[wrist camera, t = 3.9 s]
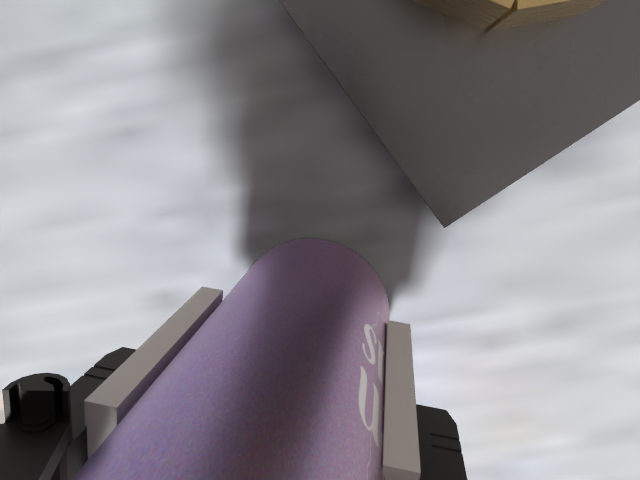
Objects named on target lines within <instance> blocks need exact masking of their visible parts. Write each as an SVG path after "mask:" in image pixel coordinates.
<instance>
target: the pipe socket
mask: <svg viewBox="0 0 640 480" xmlns="http://www.w3.org/2000/svg"><path fill="white" fill-rule="evenodd" d="M279 1H280V2H281V3H282V5H283V6H284V8H285V9H286V10H287V12H288V13H289V15H290V16H291V17H292V19H293V20H294V21H295V23H296V24H297V26H298V27H299V28H300V30H301V31H302V32H303V34H304V35H305V37H306V38H307V39H308V41H309V42H310V43H311V45H312V46H313V48H314V49H315V50H316V52H317V53H318V55H319V56H320V57H321V59H322V60H323V61H324V63H325V64H326V66H327V67H328V68H329V70H330V71H331V72H332V74H333V75H334V77H335V78H336V79H337V81H338V82H339V83H340V85H341V86H342V88H343V89H344V90H345V92H346V93H347V94H348V96H349V97H350V99H351V100H352V101H353V103H354V104H355V106H356V107H357V108H358V110H359V111H360V112H361V114H362V115H363V117H364V118H365V119H366V121H367V122H368V123H369V125H370V126H371V128H372V129H373V130H374V132H375V133H376V134H377V136H378V137H379V139H380V140H381V141H382V143H383V144H384V145H385V147H386V148H387V150H388V151H389V152H390V154H391V155H392V157H393V158H394V159H395V161H396V162H397V163H398V165H399V166H400V168H401V169H402V170H403V172H404V173H405V174H406V176H407V177H408V179H409V180H410V181H411V183H412V184H413V185H414V187H415V188H416V190H417V191H418V192H419V194H420V195H421V197H422V198H423V199H424V201H425V202H426V203H427V205H428V206H429V208H430V209H431V210H432V212H433V213H434V214H435V216H436V217H437V219H438V220H439V221H440V223H441V224H442V225H443V227H444V228H445V227H447V226H448V225H450V224H451V223H453V222H454V221H456V220H457V219H459V218H460V217H462V216H463V215H465V214H466V213H468V212H469V211H471V210H472V209H474V208H476V207H477V206H479V205H480V204H482V203H483V202H485V201H486V200H488V199H489V198H491V197H492V196H494V195H495V194H497V193H498V192H500V191H502V190H503V189H505V188H506V187H508V186H509V185H511V184H512V183H514V182H515V181H517V180H518V179H520V178H521V177H523V176H524V175H526V174H527V173H529V172H531V171H532V170H534V169H535V168H537V167H538V166H540V165H541V164H543V163H544V162H546V161H547V160H549V159H550V158H552V157H553V156H555V155H556V154H558V153H560V152H561V151H563V150H564V149H566V148H567V147H569V146H570V145H572V144H573V143H575V142H576V141H578V140H579V139H581V138H582V137H584V136H585V135H587V134H589V133H590V132H592V131H593V130H595V129H596V128H598V127H599V126H601V125H602V124H604V123H605V122H607V121H608V120H610V119H611V118H613V117H615V116H616V115H618V114H619V113H621V112H622V111H624V110H625V109H627V108H628V107H630V106H631V105H633V104H634V103H636V102H637V101H639V100H640V0H279Z"/></svg>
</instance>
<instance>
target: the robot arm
mask: <svg viewBox="0 0 640 480" xmlns="http://www.w3.org/2000/svg"><path fill="white" fill-rule="evenodd" d="M222 298H223V290H218V289H212V288H207V287H201V288H200V289H199V290H198V291H197V292H196V293H195V294H194V295H193V296H192V297H191V298H190V299H189V300H188V301H187V302H186V303H185V304H184V305H183V306H182V307H181V308H180V309H179V310H178V311H177V312H176V313H174V314H173V315H172V316H171V317H170V318H169V319H168V320H167V321H166V322H165V323H164V324H163V325H162V326H161V327H160V328H159V329H158V330H157V331H156V332H155V333H154V334H153V335H152V336H151V337H150V338H149V339H148V340H146V341H145V342H144V343H143V344H142V345H141V346H140V347H139V348H138V349H137V350H135V349H130V348H125V347H122V348H120V349H118V350H115V351H113V352H111V353H109V354H107V355H105V356H104V357H103V358H102V359H101V360H100V361H98V362H97V363H96V364H95V365H94V367H92V368H90V369H89V370H88V371H87V372H86V373H85V374H84V376H81V377H80V378H79V379H78V380H77V381H76V382H74V383H73V384H72V385H71V386H70V383H69V382H68V380H67V378H65V377H63V376H61V375H59V374H52V373H40V374H33V375H29V376H26V377H22V378H20V379H18V380H16V381H14V382H12V383H10V384H9V385H8V386H7V387H5V388H4V389H3V390H2V391H3V401H4V412H5V423H4V424H0V480H71V479H72V478H73V477H74V476H75V474H76V473H77V472H78V471H79V470H80V469H81V467H82V466H83V465H84V464H85V463H86V462H87V460H88V459H89V458H90V457H91V456H92V454H93V453H94V452H95V451H96V450H97V449H98V447H99V446H100V445H101V444H102V443H103V441H104V440H105V439H106V438H107V437H108V436H109V434H110V433H111V432H112V431H113V430H114V428H115V427H116V426H117V425H118V424H119V423H120V421H121V420H122V419H123V418H124V417H125V416H126V414H127V413H128V412H129V411H130V410H131V408H132V407H133V406H134V405H135V404H136V403H137V401H138V400H139V399H140V398H141V397H142V395H143V394H144V393H145V392H146V391H147V390H148V388H149V387H150V386H151V385H152V384H153V382H154V381H155V380H156V379H157V378H158V377H159V375H160V374H161V373H162V372H163V371H164V369H165V368H166V367H167V366H168V365H169V364H170V362H171V361H172V360H173V359H174V358H175V357H176V355H177V354H178V353H179V352H180V351H181V349H182V348H183V347H184V346H185V345H186V344H187V342H188V341H189V340H190V339H191V338H192V336H193V335H194V334H195V333H196V332H197V331H198V329H199V328H200V327H201V326H202V325H203V323H204V322H205V321H206V320H207V319H208V318H209V316H210V315H211V314H212V313H213V312H214V311H215V309H216V308H217V307H218V306H219V305H220V303H221V302H222ZM382 470H383V473H384V476H385V480H467V476H466V471H465V466H464V461H463V456H462V454H461V445H460V442H459V435H458V430H457V425H456V423H455V422H454V420H453V419H452V417H451V416H450V415H449V413H448V412H447V411H446V410H442V409H437V408H432V407H427V406H422V405H417V404H416V399H415V385H414V372H413V358H412V344H411V330H410V324H405V323H400V322H394V321H389V320H387V328H386V361H385V395H384V428H383V462H382Z"/></svg>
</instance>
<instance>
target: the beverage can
mask: <svg viewBox="0 0 640 480" xmlns="http://www.w3.org/2000/svg"><path fill="white" fill-rule="evenodd" d="M387 320H389V303H388V298H387V294H386V291H385V288H384V286H383V284H382V282H381V280H380V278H379V276H378V275H377V273H376V272H375V271H374V269H373V268H372V267H371V266H370V265H369V264H368V263H367V262H366V261H365V260H364V259H363V258H362V257H361V256H359V255H358V254H357V253H355V252H354V251H352V250H350V249H348V248H346V247H344V246H342V245H340V244H337V243H334V242H331V241H327V240H321V239H298V240H293V241H289V242H286V243H283V244H280V245H278V246H276V247H274V248H272V249H271V250H269V251H267V252H266V253H265V254H263V255H262V256H261V257H260V258H259V259H258V260H257V261H256V262H255V263H254V265H253V266H252V267H251V268H250V269H249V270H248V272H247V273H246V274H245V275H244V276H243V277H242V279H241V280H240V281H239V282H238V283H237V285H236V286H235V287H234V288H233V289H232V290H231V292H230V293H229V294H228V295H227V296H226V298H225V299H224V300H223V301H222V302H221V303H220V305H219V306H218V307H217V308H216V309H215V311H214V312H213V313H212V314H211V315H210V316H209V318H208V319H207V320H206V321H205V322H204V323H203V325H202V326H201V327H200V328H199V329H198V331H197V332H196V333H195V334H194V335H193V336H192V338H191V339H190V340H189V341H188V342H187V344H186V345H185V346H184V347H183V348H182V349H181V351H180V352H179V353H178V354H177V355H176V357H175V358H174V359H173V360H172V361H171V362H170V364H169V365H168V366H167V367H166V368H165V369H164V371H163V372H162V373H161V374H160V375H159V377H158V378H157V379H156V380H155V381H154V382H153V384H152V385H151V386H150V387H149V388H148V390H147V391H146V392H145V393H144V394H143V395H142V397H141V398H140V399H139V400H138V401H137V403H136V404H135V405H134V406H133V407H132V408H131V410H130V411H129V412H128V413H127V414H126V416H125V417H124V418H123V419H122V420H121V421H120V423H119V424H118V425H117V426H116V427H115V428H114V430H113V431H112V432H111V433H110V434H109V436H108V437H107V438H106V439H105V440H104V441H103V443H102V444H101V445H100V446H99V447H98V449H97V450H96V451H95V452H94V453H93V454H92V456H91V457H90V458H89V459H88V460H87V462H86V463H85V464H84V465H83V466H82V467H81V469H80V470H79V471H78V472H77V473H76V474H75V476H74V477H73V478H72V479H71V480H385V476H384V473H383V470H382V462H383V428H384V395H385V361H386V328H387Z"/></svg>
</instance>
